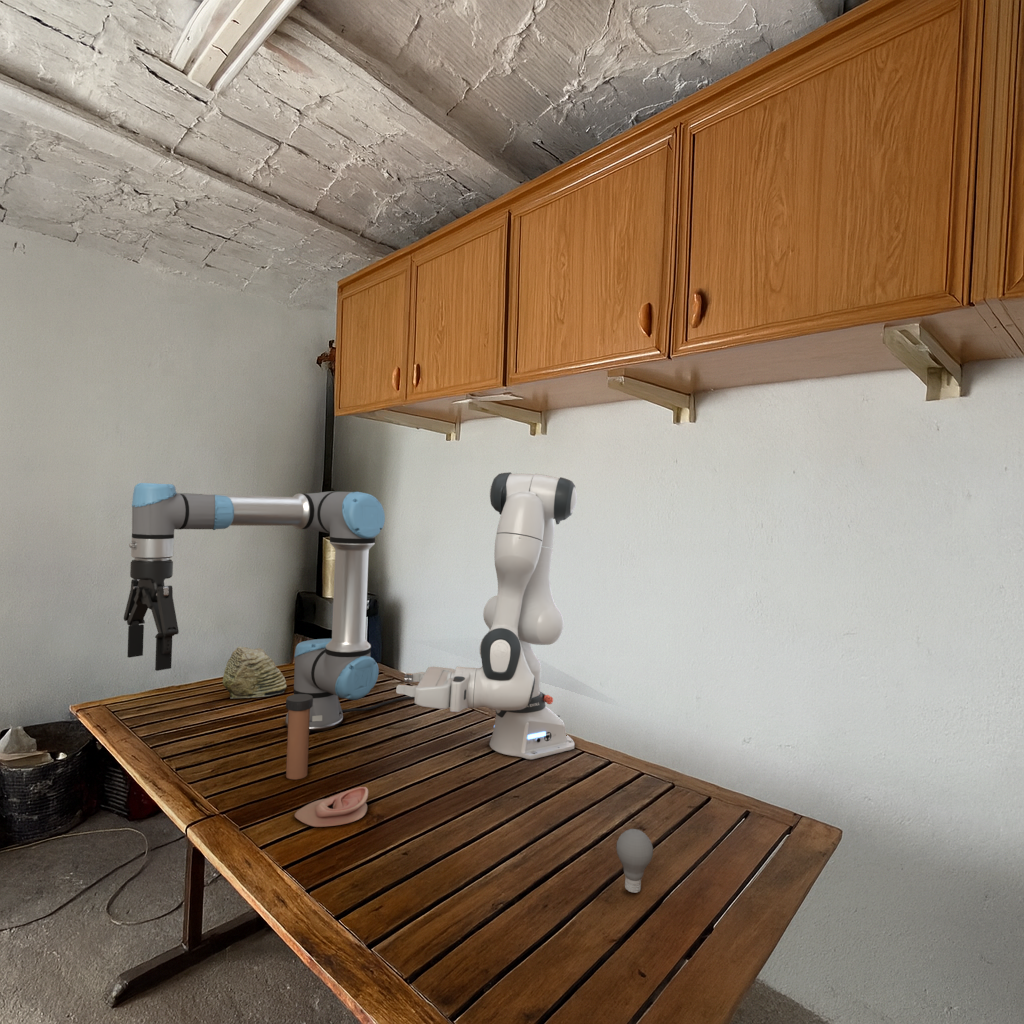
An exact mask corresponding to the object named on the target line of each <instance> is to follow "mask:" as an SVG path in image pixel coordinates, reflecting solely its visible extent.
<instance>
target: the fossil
mask: <svg viewBox="0 0 1024 1024" xmlns="http://www.w3.org/2000/svg"><path fill="white" fill-rule="evenodd" d="M222 676H223V677H222V685H223V687H224V688H225V690H226V691H228V693H229V698H230V699H250V698H264V697H271V696H275V695H281V694H284V693H285V691H286V689H287V687H288V686H287V680H286V678H285V676H284V674H283V673H282V672H281V669H279V668H278V667H277V665H276V663H275V662H274V660H273V659H272V658H271V657H270V656H269V655H268V654H267V653H266V652H265V650H264V649H263V648H260V647H258V648H251V647H247V646H246V647H245V646H238V647H237V648H236V649H235V650H233V651H232V653H231V656H230V657H229V659H228V660H227V663H226V666H225V668H224V671H223V675H222Z"/></svg>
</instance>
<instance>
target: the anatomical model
mask: <svg viewBox="0 0 1024 1024" xmlns="http://www.w3.org/2000/svg"><path fill="white" fill-rule="evenodd" d="M368 797H369V789H368V787H366V786H360V787H355V788H352V789H348V790H346V791H341V792H340V793H337V794H334V795H332V796H330V797H327V798H322V799H318V800H315V801H312V802H309V803H308V804H306V805H304V806H302V807H301V808H299V809H298V810H297V811H296V812H295V813H294V818H295V819H297V820H298V821H300V822H301V823H303V824H305V825H308V826H310V827H314V828H315V827H316V828H323V827H334V826H341V825H346V824H351V823H353V822H356V821H358V820H361V819H362V818H363V817H364V816H365V815H366V814H367V811H368V804H367V800H368Z"/></svg>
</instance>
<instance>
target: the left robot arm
mask: <svg viewBox="0 0 1024 1024" xmlns="http://www.w3.org/2000/svg"><path fill="white" fill-rule="evenodd" d="M385 515H386V513H385V511H384V508H383V505H382V503H381V502H380V501H379V500H378V498H377V497H375V495H373V494H370V493H367V492H363V491H362V492H361V491H337V490H336V491H335V490H333V491H332V490H330V491H321V492H311V493H295V494H294V495H293V496H276V495H275V496H274V495H273V496H272V495H248V494H247V495H246V494H244V495H243V494H220V493H219V494H218V493H217V494H216V493H215V494H214V493H189V492H187V493H186V492H177V491H176V486H175V485H174V484H173V483H152V482H139V483H137V484H136V485H135V486H134V488H133V492H132V501H131V520H132V521H131V542H130V543H128V547H129V548H130V549H131V550H130V556H131V558H133V559H132V560H131V561H130V567H129V568H130V571H129V574H130V575H129V576H130V578H131V581H130V590H129V594H128V598H127V603H126V607H125V610H124V615H123V621H124V622H126V624H127V626H128V629H127V630H128V631H127V658H135V657H142V656H144V635H145V634H144V630H145V625H144V624H145V623H146V621H145V619H144V618H145V616H146V615H147V612H148V609H149V610H151V613H152V618H153V620H154V624H155V627H156V631H157V633H156V635H155V636H154V638H155V661H154V663H155V665H154V668H155V669H154V670H155V671H157V672H159V671H164V670H169V669H172V659H173V657H172V655H173V637H175V636H176V635H179V632H180V631H179V625H178V619H177V615H176V614H177V613H176V609H175V603H174V597H173V595H174V593H173V585H165V580H167V579H171V578H172V577H173V575H174V573H173V572H174V561H173V560H172V559H171V558H173V557H174V554H175V553H174V552H175V530H213V531H215V530H224V529H228V528H230V526H233V527H234V526H237V527H238V526H240V527H243V526H246V527H247V526H249V527H250V526H258V527H259V526H268V527H269V526H276V527H277V526H282V527H284V526H285V527H286V526H287V527H288V526H289V527H290V526H291V527H293V528H294V529H296V530H308V531H309V530H310V531H316V532H319V533H325V534H329V544H330V545H331V546H332V547H333V548H334V550H335V551H334V572H333V573H334V577H333V599H332V625H331V626H332V627H331V638H317V639H308V640H304V641H300V642H299V643H297V645H296V646H295V650H294V655H293V657H294V672H293V673H294V674H293V695H295V694H309V695H311V696H313V706H312V707H311V708H310V723H309V733H316V732H325V731H329V730H332V729H335V728H337V727H339V726H340V725H342V723H343V722H344V714H343V713H351V712H353V713H354V712H366V711H371V710H374V709H377V708H379V707H382V706H385V705H388V704H392V703H395V702H399V701H404V700H411V699H412V700H413V699H415V697H410V696H402V697H397V698H393V699H389V700H387V701H383V702H380V703H376V704H374V705H371V706H368V707H361V708H358V707H357V708H345V709H342V706H341V702H340V699H339V698H341V699H342V700H343V699H344V700H348V701H349V700H350V701H357V700H360V699H362V698H364V697H365V696H367V695H368V694H370V692H371V690H372V689H374V687H375V685H376V683H377V682H378V678H379V674H380V672H379V671H380V670H379V669H380V668H379V665H378V663H377V662H376V660H375V659H374V657H371V652H372V649H371V648H372V644H371V643H370V642H368V640H367V639H366V631H367V607H368V606H367V605H368V604H367V602H368V582H369V581H368V579H369V555H370V553H369V552H370V550H371V548H372V547H374V545H375V544H376V536H378V535H379V534H380V533H381V530H383V528H384V526H385V522H386V521H385V520H386V516H385ZM285 726H286V728H288V712H287V713H286V715H285Z"/></svg>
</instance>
